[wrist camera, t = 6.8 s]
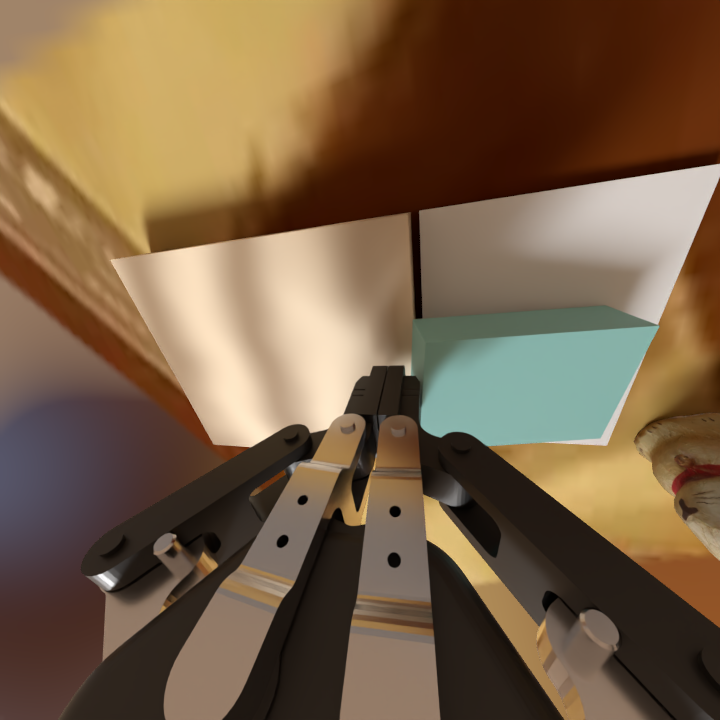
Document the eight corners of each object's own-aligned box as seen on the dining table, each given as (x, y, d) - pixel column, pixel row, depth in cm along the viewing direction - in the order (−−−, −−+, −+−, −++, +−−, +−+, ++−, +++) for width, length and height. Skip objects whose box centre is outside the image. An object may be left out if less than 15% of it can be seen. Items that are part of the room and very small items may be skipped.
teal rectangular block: (605, 305, 12) (660, 325, 10) (565, 405, 15) (600, 438, 13) (412, 319, 12) (425, 342, 10) (409, 416, 15) (418, 450, 13)
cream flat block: (410, 211, 13) (407, 213, 10) (420, 431, 19) (419, 458, 17) (150, 252, 17) (110, 260, 14) (233, 422, 23) (213, 444, 21)
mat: (712, 164, 10) (725, 162, 9) (602, 439, 17) (606, 445, 16) (419, 210, 12) (419, 211, 12) (426, 431, 19) (426, 436, 19)
